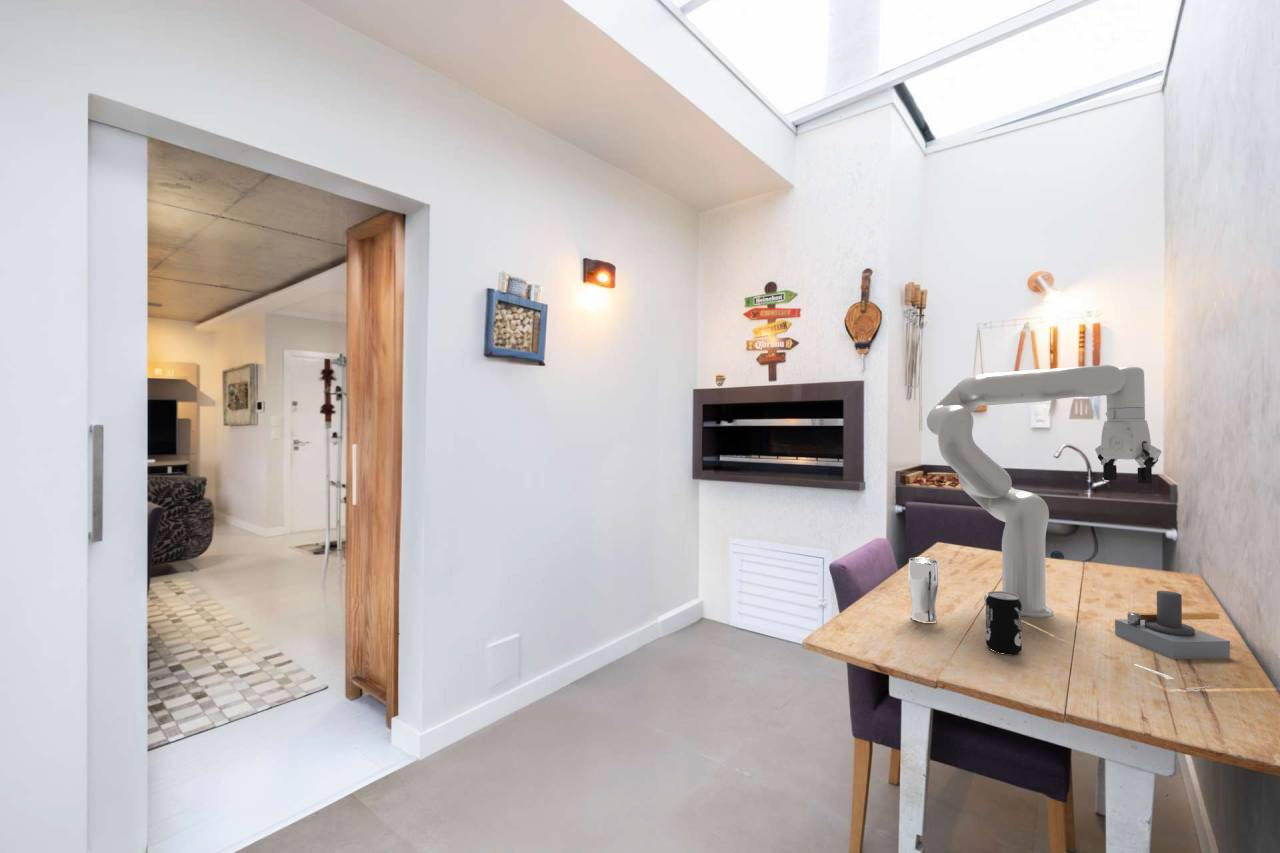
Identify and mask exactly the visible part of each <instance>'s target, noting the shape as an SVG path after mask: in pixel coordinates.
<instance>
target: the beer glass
mask: <svg viewBox="0 0 1280 853" xmlns="http://www.w3.org/2000/svg"><path fill="white" fill-rule="evenodd" d="M907 572H908V574H907V579H908V587H909V593H910V597H911V612H910V616H911V617H912V618H913V619H916V620H920V621H926V622H935V621H937V622H938V617H937V613H936V602H937V598H938V591H939V587H940V586H939V585H940V572H939V561H938V560H936V559H933V558H927V557H910V558H908V570H907Z"/></svg>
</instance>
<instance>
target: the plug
mask: <svg viewBox="0 0 1280 853" xmlns="http://www.w3.org/2000/svg"><path fill="white" fill-rule="evenodd" d="M1182 598H1183V596H1182V594H1181V593H1178V592H1174V591H1170V590H1157V591H1156V613H1157V620H1145V627H1146V628H1148V629H1150V630H1153V631H1156V632H1160V633H1164V634H1169V635H1175V636H1194V635H1195V629H1196V628H1194V627H1192V626H1191V625H1188V624H1185V623H1183V620H1182V613H1183V611H1182V610H1183V609H1182V608H1183V606H1182Z"/></svg>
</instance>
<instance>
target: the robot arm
mask: <svg viewBox="0 0 1280 853" xmlns="http://www.w3.org/2000/svg"><path fill="white" fill-rule="evenodd" d="M1145 393H1146V392H1145V372H1144V369H1143V368H1141V367H1138V366H1123V367H1117V366H1115V365H1110V364H1105V365H1103V364H1102V365H1093V366H1091V365H1089V366H1078V367H1077V366H1076V367H1067V368H1066V367H1065V368H1051V369H1050V368H1045V369H1041V368H1040V369H1031V370H1030V369H1029V370H1017V371H1003V372H992V373H981V374H977V375H972V376H968V377H966V378H963V379H962V380H961V381H960V382H959V383H957V384H956V385H955V386H954V387H953V388H952V389H951V390H950V391H949V392H948V393H947V394H946V395H945V396H944V397H943V398H942V399H941V400H940V401H939V402H938V403H937V404H936V405H935V406H933V408H932V409H931V410H930V411H929V413H928V414H927V416H926V417H927V418H926V425H927V428H928V430H929V431H930V432H931V433H933V434H934V435H936V436H938V437H937V438H938V439H937V440H938V441H937V443H938V448H939V452H940V454H941V457H942V458H943V460H944V461H945V462H946V464H947V465H948V466H950V468H951V469H953V471H954V472H955V473H956V474H957V476H958V477H957V478H958V482H959V485H960V487H961V489H962V490H963V491H964V492H965V493H966V494H967V495H968V496H969V497H970V498H971V499H973V500H974V501H975V502H976V503H977V504H978V505H979V506H981V508H983V509H984V510H985V511H986V512H987V513H989V514H990V515H991V516H993V517H994V518H995V519H997V520H999V521H1001V522H1003V523H1005V524H1004V528H1003V532H1002V537H1001V563H1002V564H1001V568H1002V569H1001V576H1002V577H1001V578H1002V579H1001V590H999V591H1000V592H1008V593H1012V594H1015V595H1017V596H1019V601H1020V602H1021V604H1022V616H1023V618H1030V617H1031V618H1051V617H1053V616H1054V611H1053V609H1052V607H1049V606H1047V604H1046V603H1047V601H1046V600H1047V598H1046V597H1047V595H1046V592H1047V590H1046V589H1047V588H1046V580H1047V579H1046V578H1047V577H1046V537H1047V535H1046V534H1047V528H1048V524H1049V520H1050V519H1049V518H1050V511H1049V507H1048V504H1047V503H1046V501H1045V500H1044V499H1043V497H1041V496H1039V495H1038V494H1036V493H1033V492H1031V491H1027V490H1022V489H1016V488H1014V487H1013V486H1012V483H1013V482H1012V478H1011V476H1010V474H1009V472H1008V471H1007V470H1005V469H1004V468H1003V467H1002V466H1000V465H999V464H998V462H996V461H995V460H993V459H992V458H991V457H990V456H989V455H988V454H986V452H984V451H983V450H982V449H981V447H979V446H978V445H977V444H976V442H975V440H974V438H973V428H974V417H973V413H974V412H975V411H976V409H977V408H978V407H982V406H983V407H984V406H996V405H997V406H998V405H1013V404H1028V403H1040V402H1041V403H1042V402H1048V401H1054V400H1061V399H1069V398H1070V399H1071V398H1090V397H1091V398H1092V397H1099V396H1105V397H1106V412H1105V416H1106V420H1104V422H1103V426H1102V430H1101V436H1100V437H1101V438H1100V439H1101V440H1100V445H1099V446H1097V447H1096V448H1094V450H1095V453H1096V455H1097V459H1098V460H1099V462H1100V464H1101V465H1102V466H1103V467H1102V469H1103V470H1102V471H1103V476H1102V477H1103V481H1116V480H1117V479H1118V477H1117V475H1118V474H1117V465H1116V464H1115V463H1116V462H1117V461H1118V460H1128V461H1129V460H1134V461H1135V462H1136V463H1137V465H1138V466H1139V467H1137V483H1138V484H1141V485H1144V484H1145V485H1146V484H1149V485H1150V484H1152V483H1153V476H1152V475H1153V472H1152V470H1153V468H1154V467H1155V466H1156V464H1157V462H1159V458H1160V456H1161V454H1162V450H1161V449H1159V448H1157V447H1155V446H1154V445H1153V444H1152V442H1151V434H1150V429H1149V424H1148V421H1147V420H1146V408H1145V407H1146V403H1145V402H1146V399H1145V398H1146V397H1145V396H1146V395H1145ZM987 597H988V594H987V595H986V594H985V595H984V597H983V600H984V602H985V603H986V598H987Z"/></svg>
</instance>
